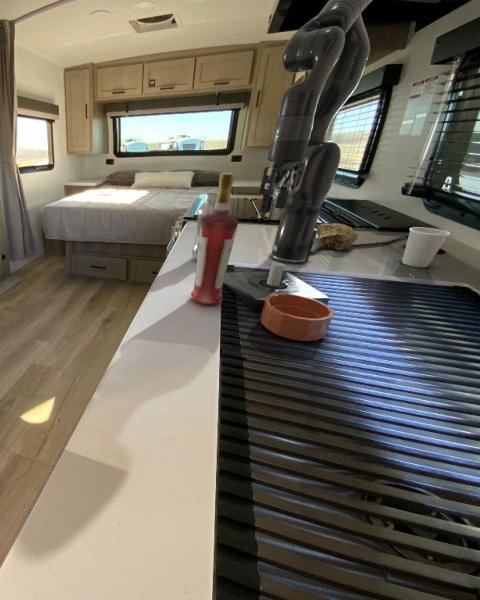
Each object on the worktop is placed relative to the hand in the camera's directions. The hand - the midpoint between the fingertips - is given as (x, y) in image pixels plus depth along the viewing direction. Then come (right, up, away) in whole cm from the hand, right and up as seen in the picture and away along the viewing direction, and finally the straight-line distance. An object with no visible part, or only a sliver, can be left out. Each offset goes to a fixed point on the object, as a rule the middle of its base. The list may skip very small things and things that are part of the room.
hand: (272, 210), depth 83 cm
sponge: (+41, -3, +34) cm, 54 cm away
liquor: (-19, -23, -6) cm, 30 cm away
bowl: (-6, -28, -17) cm, 34 cm away
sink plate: (-3, -21, -3) cm, 22 cm away
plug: (-3, -21, -3) cm, 22 cm away
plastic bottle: (-10, -10, +20) cm, 25 cm away
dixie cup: (+51, -12, +15) cm, 54 cm away
